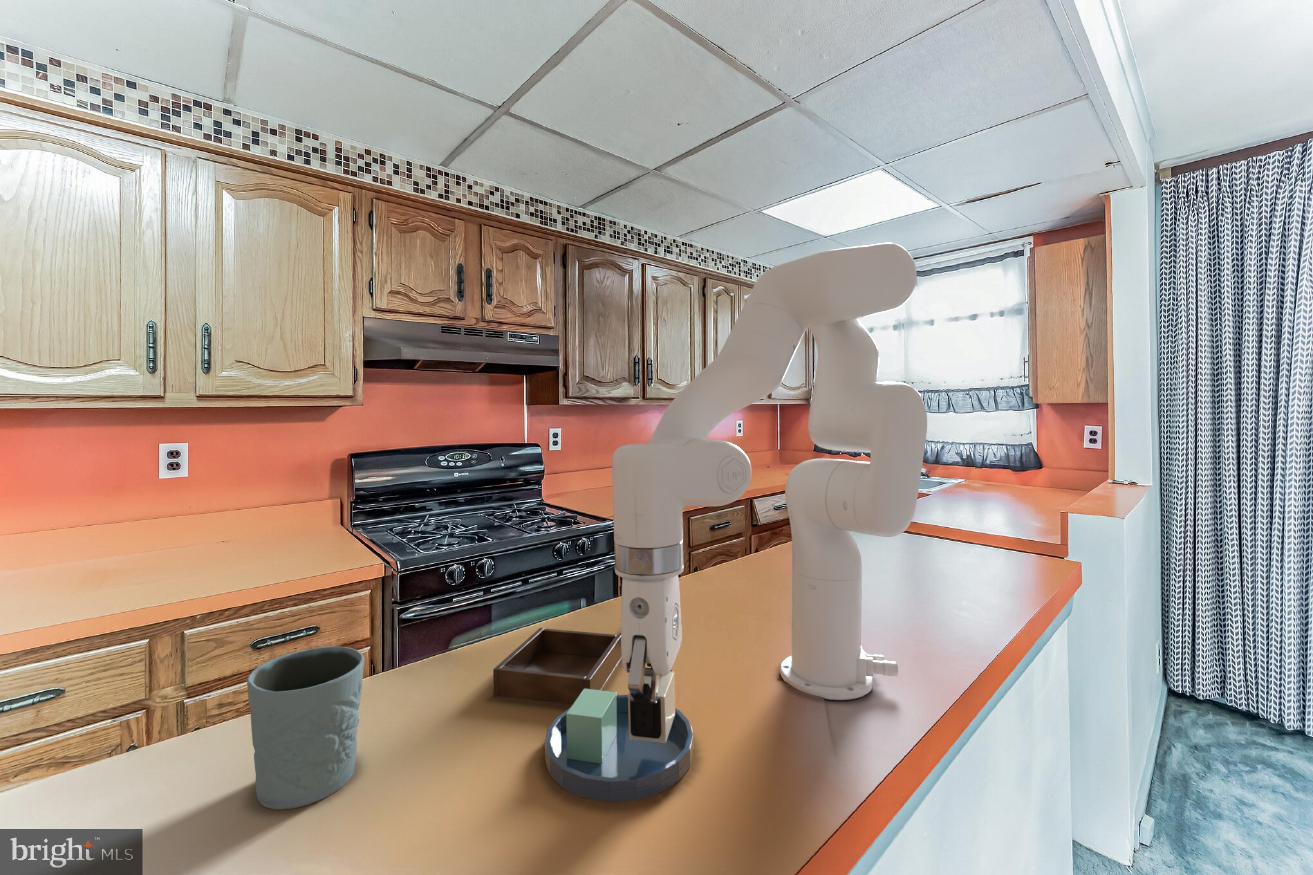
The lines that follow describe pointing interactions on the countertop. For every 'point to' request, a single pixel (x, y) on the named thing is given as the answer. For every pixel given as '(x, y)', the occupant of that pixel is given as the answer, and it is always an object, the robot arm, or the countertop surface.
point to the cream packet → (667, 706)
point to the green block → (591, 725)
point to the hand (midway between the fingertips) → (652, 716)
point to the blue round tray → (621, 761)
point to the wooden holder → (557, 666)
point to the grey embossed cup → (305, 724)
